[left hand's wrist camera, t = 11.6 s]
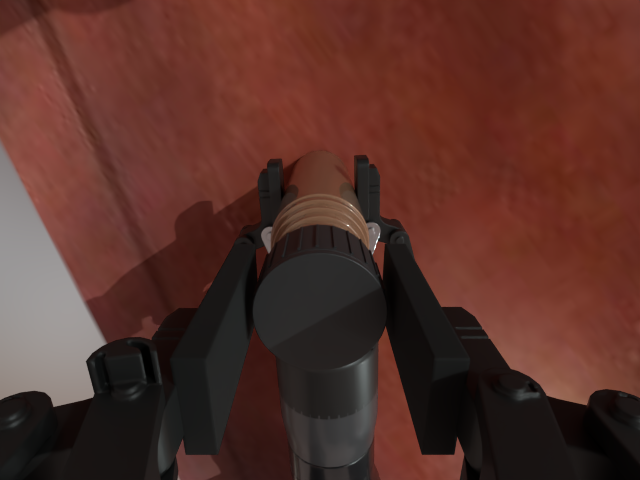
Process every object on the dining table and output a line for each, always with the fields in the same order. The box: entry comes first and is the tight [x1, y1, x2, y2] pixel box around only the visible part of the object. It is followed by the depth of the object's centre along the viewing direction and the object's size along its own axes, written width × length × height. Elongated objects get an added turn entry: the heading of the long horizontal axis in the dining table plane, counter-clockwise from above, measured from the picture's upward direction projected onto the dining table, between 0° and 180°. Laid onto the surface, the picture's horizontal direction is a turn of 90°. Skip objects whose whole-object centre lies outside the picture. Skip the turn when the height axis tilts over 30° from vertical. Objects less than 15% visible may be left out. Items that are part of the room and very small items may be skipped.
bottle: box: [271, 151, 369, 249], centre depth 22 cm, size 5×5×20 cm
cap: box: [252, 224, 388, 370], centre depth 13 cm, size 4×4×3 cm
